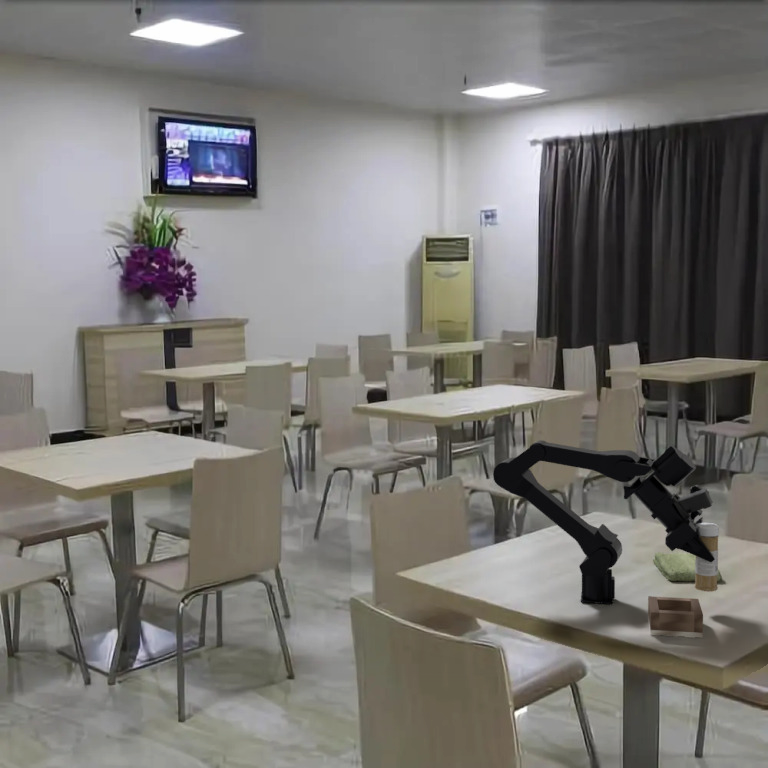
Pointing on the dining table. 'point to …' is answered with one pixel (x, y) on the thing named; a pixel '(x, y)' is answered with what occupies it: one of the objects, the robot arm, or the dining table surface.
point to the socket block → (675, 616)
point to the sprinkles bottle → (703, 568)
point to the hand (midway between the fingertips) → (713, 557)
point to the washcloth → (678, 566)
